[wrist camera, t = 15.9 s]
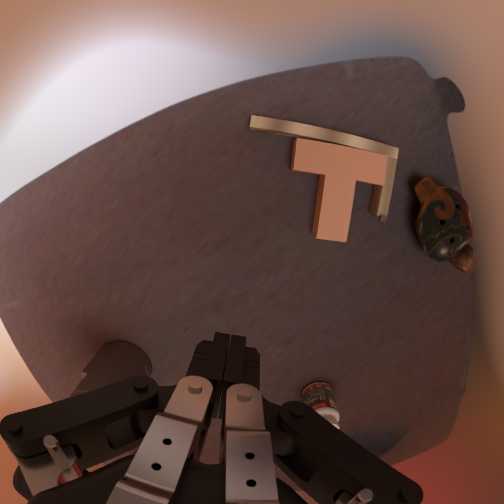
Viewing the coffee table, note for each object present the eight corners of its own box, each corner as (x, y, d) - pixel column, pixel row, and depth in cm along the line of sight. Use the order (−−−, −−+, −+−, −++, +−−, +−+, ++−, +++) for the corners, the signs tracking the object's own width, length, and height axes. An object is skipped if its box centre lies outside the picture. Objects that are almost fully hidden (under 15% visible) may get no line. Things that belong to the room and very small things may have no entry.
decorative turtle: (432, 276, 40) (455, 294, 33) (384, 201, 39) (405, 207, 31) (470, 238, 38) (498, 250, 30) (427, 163, 36) (453, 161, 29)
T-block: (282, 229, 39) (284, 234, 36) (293, 141, 36) (297, 137, 33) (365, 240, 39) (373, 246, 36) (377, 156, 36) (387, 155, 33)
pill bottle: (318, 375, 46) (328, 416, 36) (338, 390, 46) (350, 429, 37) (294, 394, 47) (299, 435, 37) (314, 407, 48) (322, 446, 38)
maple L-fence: (240, 193, 38) (238, 195, 35) (252, 119, 36) (251, 114, 32) (377, 218, 38) (387, 222, 35) (389, 149, 36) (400, 148, 32)
